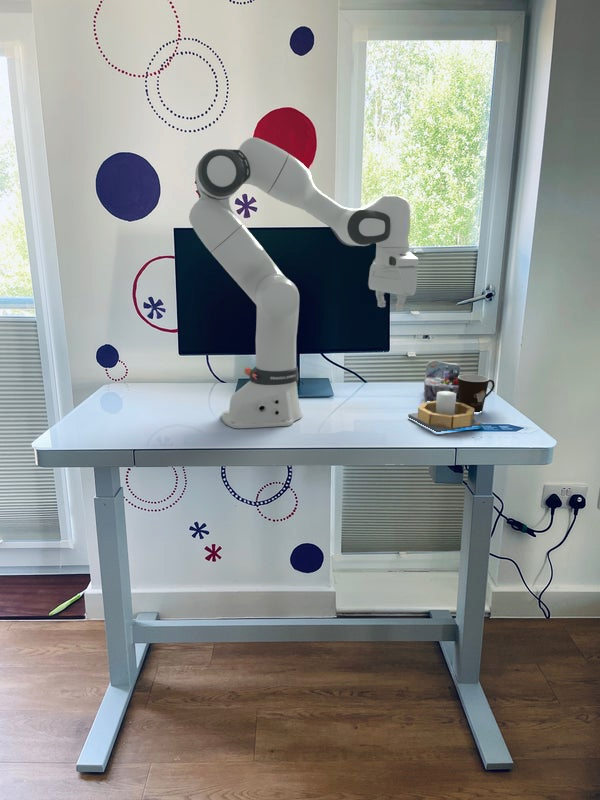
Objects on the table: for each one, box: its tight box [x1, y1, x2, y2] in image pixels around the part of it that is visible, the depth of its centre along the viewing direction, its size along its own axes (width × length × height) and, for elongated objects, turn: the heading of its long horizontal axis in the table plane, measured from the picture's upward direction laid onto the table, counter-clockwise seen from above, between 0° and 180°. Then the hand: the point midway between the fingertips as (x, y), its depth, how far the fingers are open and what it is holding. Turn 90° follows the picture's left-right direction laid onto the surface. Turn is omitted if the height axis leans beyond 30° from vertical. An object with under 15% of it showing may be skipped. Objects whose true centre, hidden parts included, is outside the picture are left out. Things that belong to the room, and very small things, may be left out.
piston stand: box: [407, 391, 484, 432], centre depth 157 cm, size 14×14×8 cm
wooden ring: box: [417, 401, 475, 428], centre depth 157 cm, size 14×14×3 cm
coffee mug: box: [458, 373, 496, 412], centre depth 167 cm, size 12×9×10 cm
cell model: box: [423, 360, 461, 402], centre depth 180 cm, size 13×11×20 cm
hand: (389, 309), depth 163 cm, fingers open, 8 cm apart
